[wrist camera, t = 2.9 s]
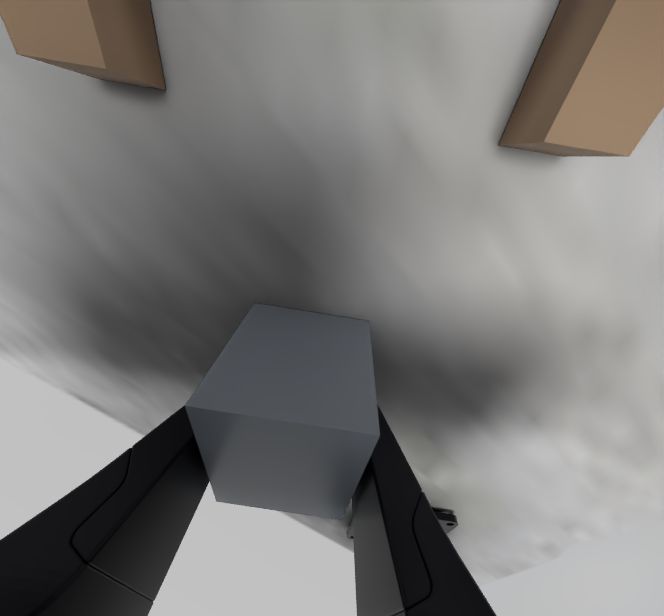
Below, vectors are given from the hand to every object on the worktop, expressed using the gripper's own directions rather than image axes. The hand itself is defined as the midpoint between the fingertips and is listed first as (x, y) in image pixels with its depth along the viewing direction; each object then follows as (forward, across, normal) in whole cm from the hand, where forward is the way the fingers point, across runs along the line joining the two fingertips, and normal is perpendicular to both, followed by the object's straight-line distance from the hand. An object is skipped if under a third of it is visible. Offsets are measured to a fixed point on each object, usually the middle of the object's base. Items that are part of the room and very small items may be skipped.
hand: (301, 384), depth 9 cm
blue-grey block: (+1, 0, 0) cm, 1 cm away
